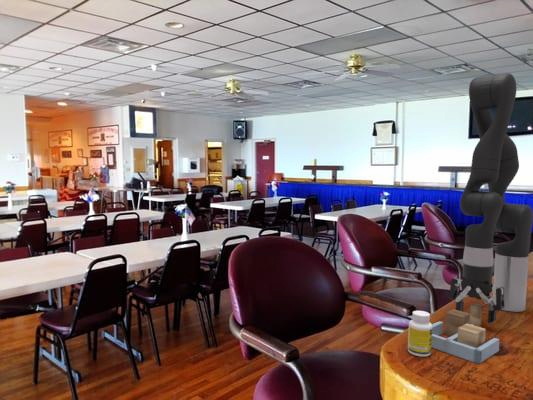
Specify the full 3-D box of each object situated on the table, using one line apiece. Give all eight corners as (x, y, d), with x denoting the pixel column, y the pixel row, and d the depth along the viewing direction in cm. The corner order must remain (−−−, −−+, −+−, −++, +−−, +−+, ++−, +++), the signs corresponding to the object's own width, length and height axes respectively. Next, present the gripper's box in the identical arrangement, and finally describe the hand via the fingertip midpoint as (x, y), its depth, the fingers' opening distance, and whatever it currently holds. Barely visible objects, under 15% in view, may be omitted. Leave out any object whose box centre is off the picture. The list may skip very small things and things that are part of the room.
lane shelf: (438, 331, 119) (439, 321, 119) (498, 351, 107) (499, 339, 107) (416, 342, 112) (417, 330, 112) (478, 364, 100) (479, 351, 100)
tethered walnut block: (469, 322, 126) (470, 301, 126) (485, 326, 123) (486, 306, 122) (445, 334, 117) (446, 312, 117) (462, 339, 114) (463, 317, 113)
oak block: (465, 346, 110) (466, 323, 109) (484, 352, 106) (485, 328, 106) (456, 351, 107) (457, 327, 106) (475, 358, 103) (477, 333, 103)
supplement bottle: (433, 358, 103) (434, 318, 102) (409, 356, 104) (410, 316, 103) (429, 348, 108) (431, 310, 107) (406, 346, 109) (407, 308, 108)
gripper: (510, 265, 119) (507, 322, 121) (459, 256, 130) (456, 309, 131) (499, 269, 114) (495, 329, 116) (446, 259, 125) (444, 314, 127)
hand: (475, 318), depth 124 cm, fingers open, 8 cm apart
